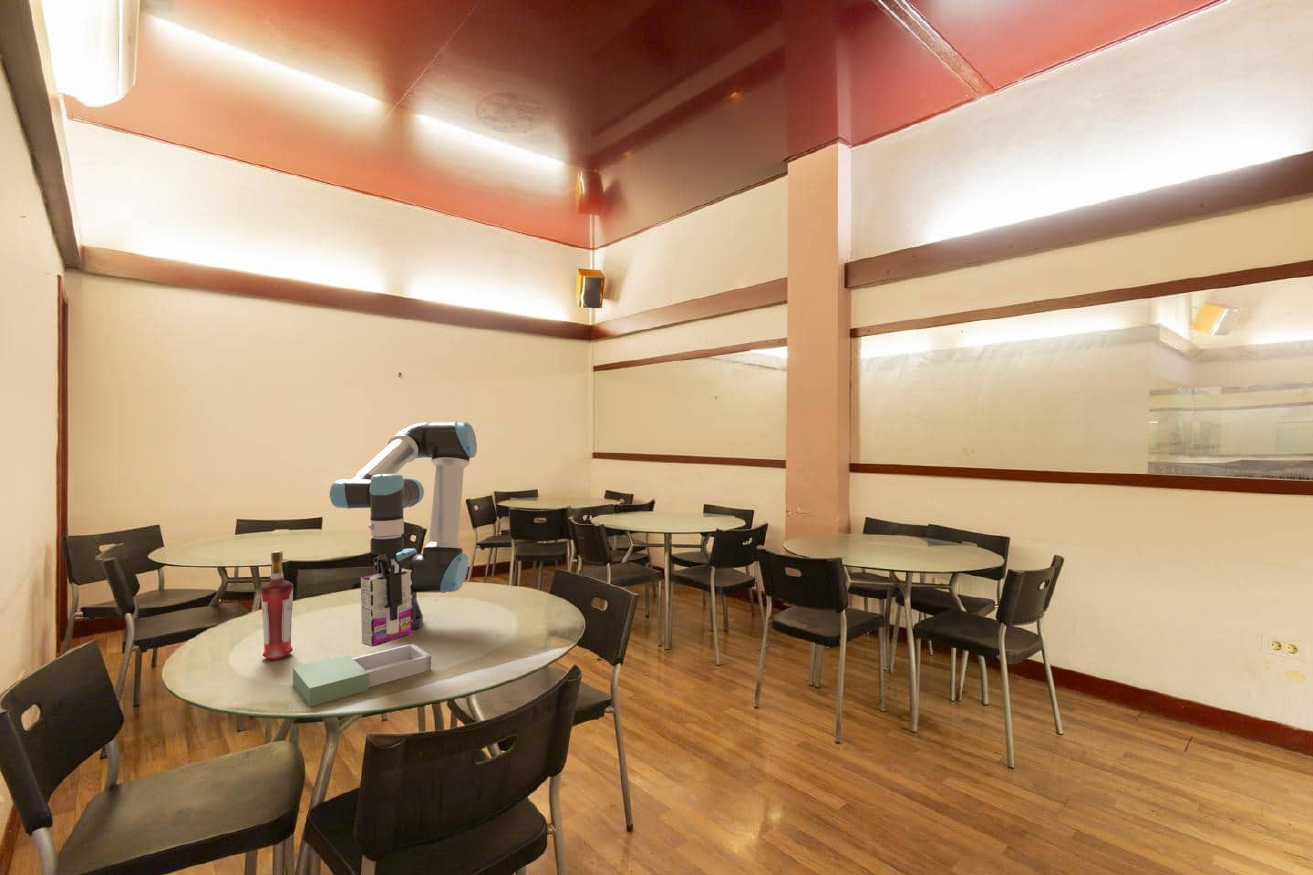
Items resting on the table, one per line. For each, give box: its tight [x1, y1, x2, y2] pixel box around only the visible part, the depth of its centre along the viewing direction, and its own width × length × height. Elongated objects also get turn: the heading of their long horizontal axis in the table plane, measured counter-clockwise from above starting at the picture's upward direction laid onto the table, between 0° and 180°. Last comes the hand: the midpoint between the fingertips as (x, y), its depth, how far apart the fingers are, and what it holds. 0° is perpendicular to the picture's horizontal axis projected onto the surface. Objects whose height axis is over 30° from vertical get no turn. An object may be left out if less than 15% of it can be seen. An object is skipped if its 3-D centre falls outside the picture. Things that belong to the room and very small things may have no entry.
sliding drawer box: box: [292, 643, 432, 708], centre depth 143 cm, size 16×27×4 cm, turn 133°
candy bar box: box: [360, 568, 414, 648], centre depth 147 cm, size 11×5×16 cm, turn 147°
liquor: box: [260, 550, 294, 661], centre depth 157 cm, size 7×7×28 cm
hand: (387, 629), depth 147 cm, fingers closed on candy bar box, 6 cm apart
